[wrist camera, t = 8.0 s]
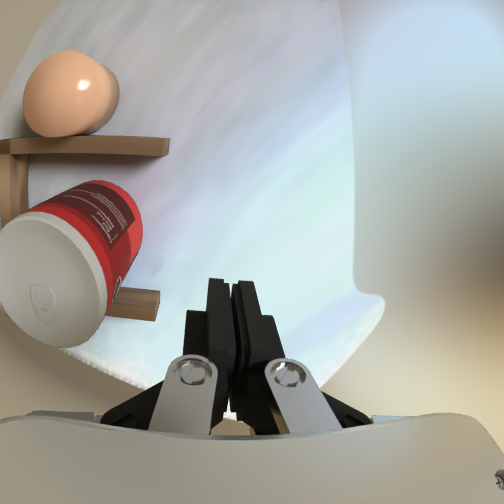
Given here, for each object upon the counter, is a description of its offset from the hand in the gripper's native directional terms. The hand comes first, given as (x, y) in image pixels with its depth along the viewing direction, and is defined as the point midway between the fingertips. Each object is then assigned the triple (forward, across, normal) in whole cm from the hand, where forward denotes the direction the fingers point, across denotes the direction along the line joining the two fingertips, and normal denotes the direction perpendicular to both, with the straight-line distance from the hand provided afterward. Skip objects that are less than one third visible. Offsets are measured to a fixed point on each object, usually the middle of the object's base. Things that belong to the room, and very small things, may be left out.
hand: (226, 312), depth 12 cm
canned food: (+14, +10, +2) cm, 17 cm away
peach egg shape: (+14, +12, -8) cm, 20 cm away
